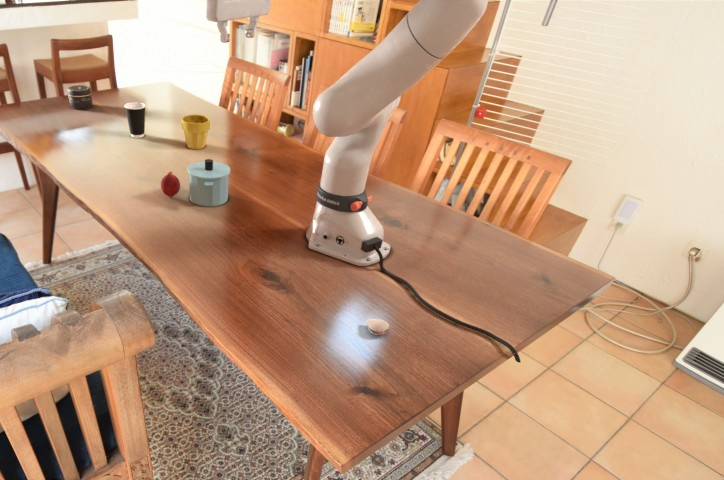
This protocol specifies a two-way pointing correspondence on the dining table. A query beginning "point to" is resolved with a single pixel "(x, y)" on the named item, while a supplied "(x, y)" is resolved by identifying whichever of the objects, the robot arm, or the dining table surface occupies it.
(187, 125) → the flower pot
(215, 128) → the dining table surface
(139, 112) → the dixie cup
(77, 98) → the jar
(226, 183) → the pot
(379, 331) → the macaroon
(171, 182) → the onion
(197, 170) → the pot lid
